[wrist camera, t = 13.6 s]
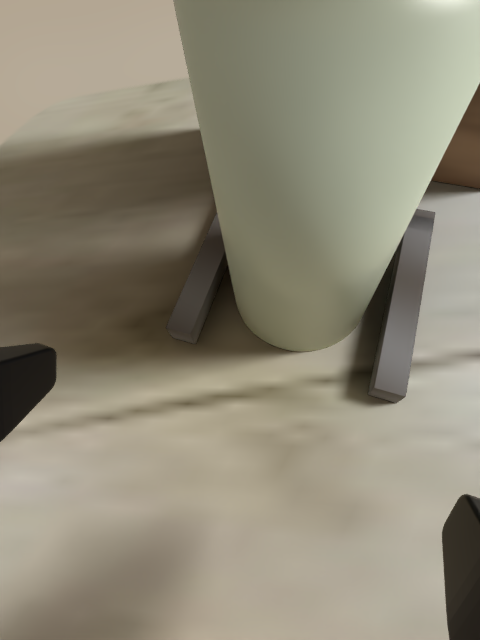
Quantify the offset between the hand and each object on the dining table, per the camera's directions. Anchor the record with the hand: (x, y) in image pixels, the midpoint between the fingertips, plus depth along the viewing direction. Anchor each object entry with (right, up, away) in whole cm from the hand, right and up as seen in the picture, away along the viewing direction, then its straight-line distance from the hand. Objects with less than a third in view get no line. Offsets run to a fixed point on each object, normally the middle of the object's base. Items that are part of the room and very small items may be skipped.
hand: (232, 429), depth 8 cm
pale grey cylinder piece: (+3, +4, +10) cm, 12 cm away
